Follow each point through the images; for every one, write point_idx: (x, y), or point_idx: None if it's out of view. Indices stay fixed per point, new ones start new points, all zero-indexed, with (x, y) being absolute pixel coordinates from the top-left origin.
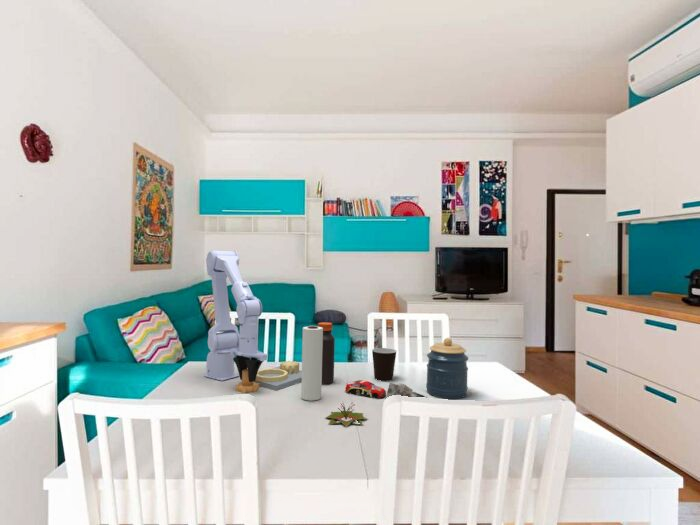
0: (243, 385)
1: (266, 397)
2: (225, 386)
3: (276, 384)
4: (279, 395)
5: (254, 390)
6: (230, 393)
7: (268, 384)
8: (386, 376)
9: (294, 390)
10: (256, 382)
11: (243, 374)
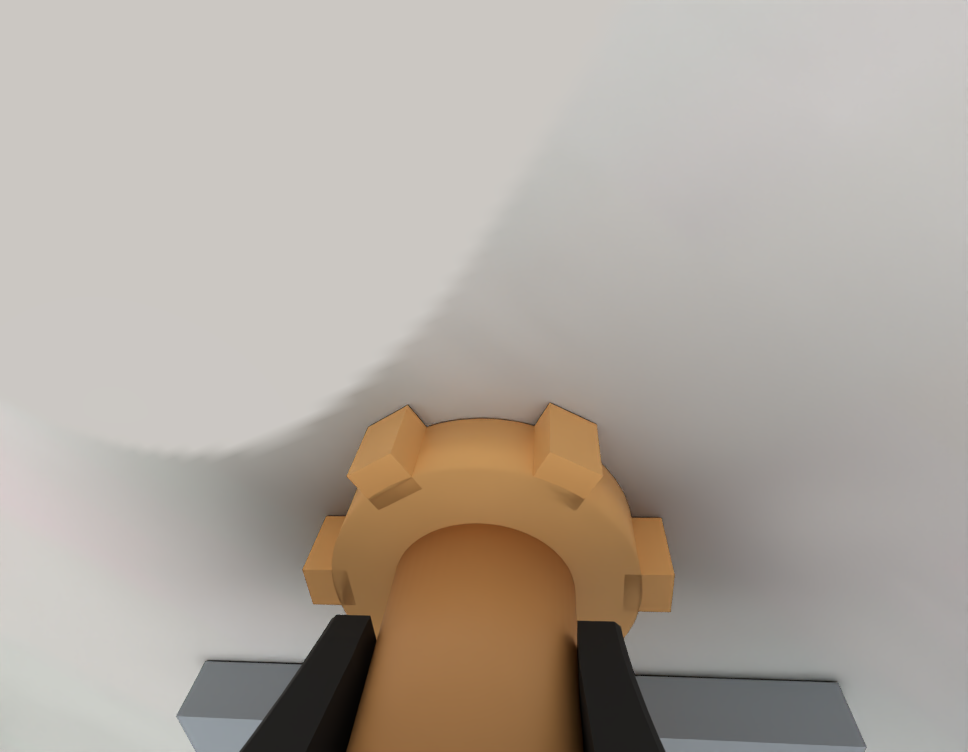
0: (472, 527)
1: (17, 464)
2: (905, 444)
3: (223, 741)
4: (22, 582)
5: (321, 532)
6: (524, 264)
7: None
8: None
9: (109, 731)
10: None
11: (458, 719)
